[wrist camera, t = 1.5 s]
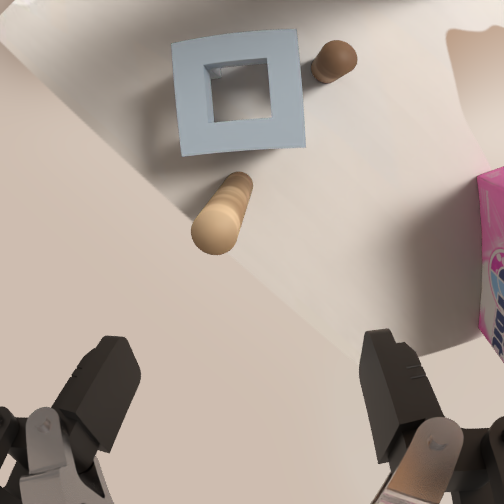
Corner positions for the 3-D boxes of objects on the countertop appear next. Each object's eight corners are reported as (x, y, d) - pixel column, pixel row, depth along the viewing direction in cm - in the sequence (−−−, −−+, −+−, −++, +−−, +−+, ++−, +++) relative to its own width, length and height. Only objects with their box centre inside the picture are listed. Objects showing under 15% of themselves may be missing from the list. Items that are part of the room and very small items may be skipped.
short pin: (309, 56, 22) (319, 39, 16) (338, 56, 21) (355, 41, 16) (312, 82, 23) (322, 72, 17) (341, 83, 22) (358, 74, 17)
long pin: (223, 172, 27) (187, 212, 16) (251, 170, 27) (234, 209, 16) (226, 199, 28) (194, 255, 17) (254, 198, 28) (239, 254, 17)
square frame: (200, 62, 22) (171, 43, 15) (290, 54, 22) (296, 29, 14) (207, 145, 26) (181, 156, 19) (296, 139, 25) (305, 147, 18)
